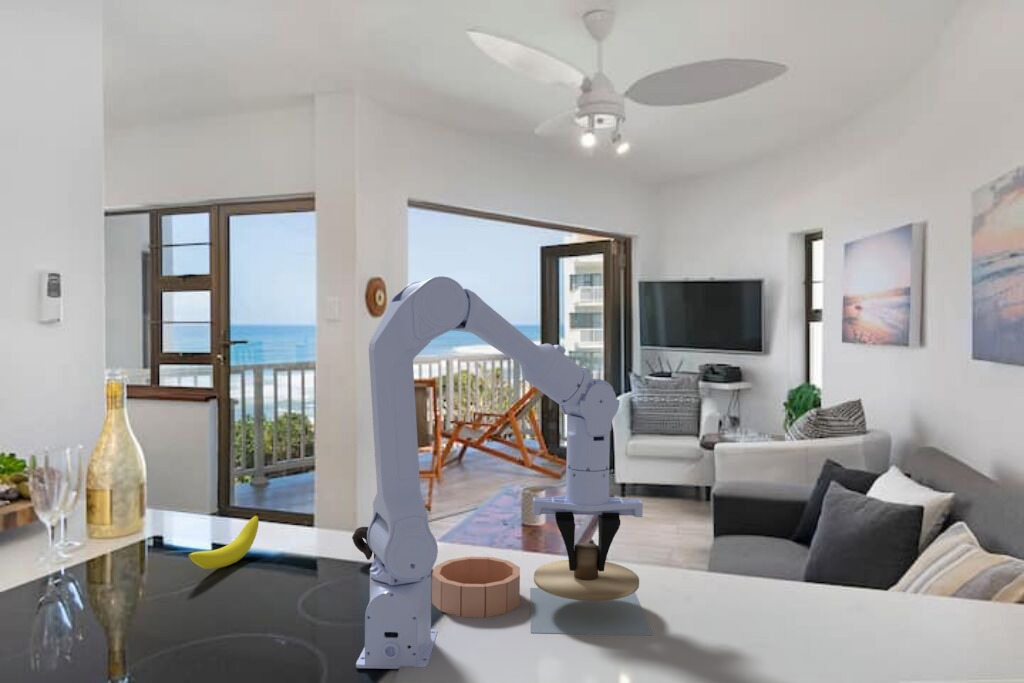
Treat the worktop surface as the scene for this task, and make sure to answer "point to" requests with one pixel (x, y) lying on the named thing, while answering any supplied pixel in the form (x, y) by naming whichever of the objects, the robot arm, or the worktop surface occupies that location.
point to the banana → (228, 548)
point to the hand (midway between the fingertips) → (586, 568)
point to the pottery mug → (362, 542)
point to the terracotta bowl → (476, 586)
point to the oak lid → (586, 577)
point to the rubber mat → (586, 615)
